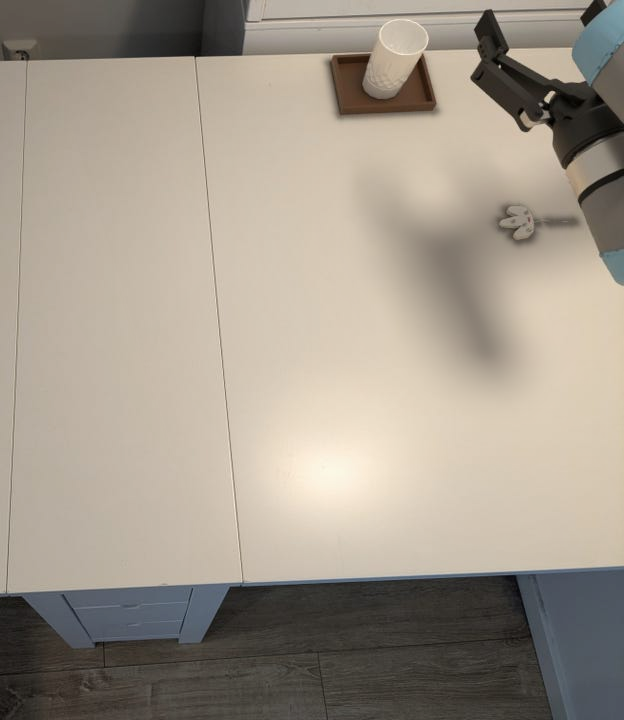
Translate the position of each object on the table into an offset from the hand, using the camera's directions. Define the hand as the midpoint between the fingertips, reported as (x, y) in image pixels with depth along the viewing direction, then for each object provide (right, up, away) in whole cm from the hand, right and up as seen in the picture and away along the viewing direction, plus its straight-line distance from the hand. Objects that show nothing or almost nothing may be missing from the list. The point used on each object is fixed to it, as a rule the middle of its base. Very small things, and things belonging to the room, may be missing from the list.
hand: (536, 13), depth 68 cm
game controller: (+15, -21, +22) cm, 34 cm away
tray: (-6, +6, +32) cm, 33 cm away
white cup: (-6, +7, +32) cm, 33 cm away
